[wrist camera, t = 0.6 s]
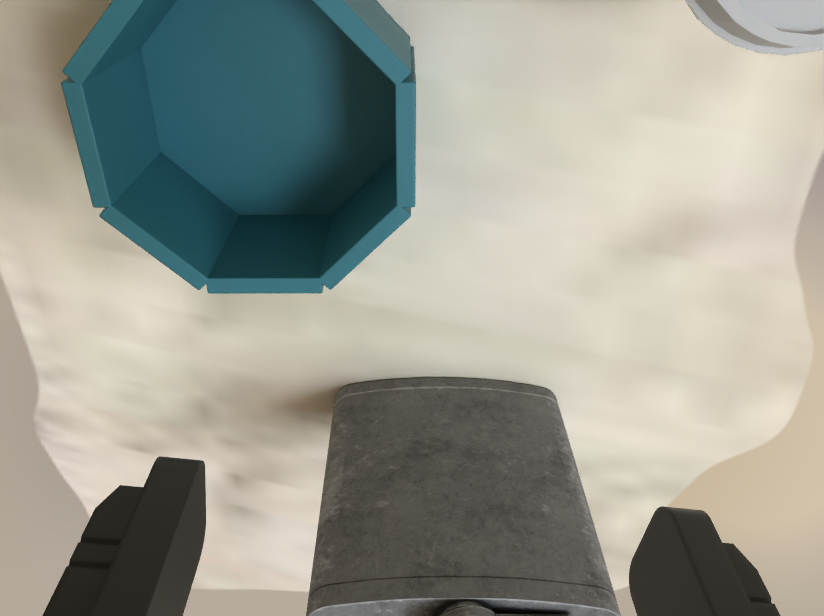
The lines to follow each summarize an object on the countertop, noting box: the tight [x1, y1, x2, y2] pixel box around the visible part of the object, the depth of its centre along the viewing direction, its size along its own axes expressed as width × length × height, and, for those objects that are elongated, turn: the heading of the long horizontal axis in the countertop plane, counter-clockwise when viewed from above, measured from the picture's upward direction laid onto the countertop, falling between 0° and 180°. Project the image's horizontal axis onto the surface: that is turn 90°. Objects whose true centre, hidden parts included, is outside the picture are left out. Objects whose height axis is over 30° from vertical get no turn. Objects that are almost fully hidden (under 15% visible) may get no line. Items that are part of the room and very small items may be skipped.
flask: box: [306, 378, 621, 616], centre depth 37 cm, size 4×14×18 cm, turn 88°
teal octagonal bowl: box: [61, 0, 416, 293], centre depth 31 cm, size 14×14×8 cm
